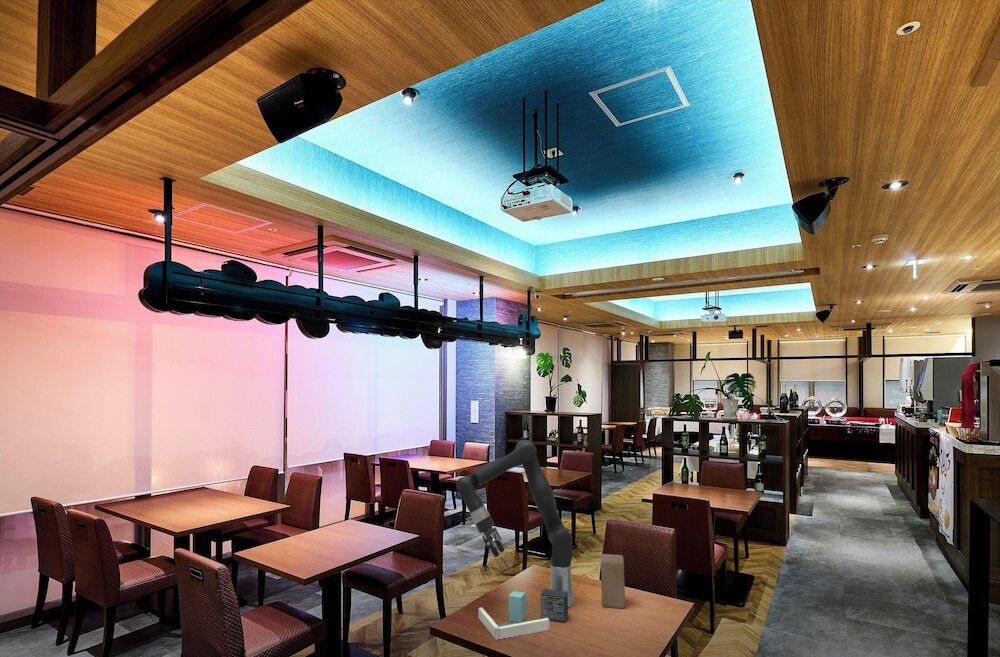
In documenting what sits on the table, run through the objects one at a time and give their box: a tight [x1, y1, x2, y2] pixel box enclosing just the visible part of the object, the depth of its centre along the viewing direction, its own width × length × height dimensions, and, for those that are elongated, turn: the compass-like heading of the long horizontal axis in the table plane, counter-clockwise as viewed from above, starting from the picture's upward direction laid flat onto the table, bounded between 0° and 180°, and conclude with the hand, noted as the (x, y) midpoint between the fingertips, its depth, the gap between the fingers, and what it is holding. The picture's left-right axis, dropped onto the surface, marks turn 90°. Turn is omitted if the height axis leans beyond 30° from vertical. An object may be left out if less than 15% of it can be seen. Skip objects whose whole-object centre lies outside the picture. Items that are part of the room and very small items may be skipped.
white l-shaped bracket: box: [478, 607, 550, 641], centre depth 218 cm, size 23×21×4 cm
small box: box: [540, 588, 569, 624], centre depth 224 cm, size 11×6×10 cm, turn 71°
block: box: [600, 553, 626, 609], centre depth 238 cm, size 10×10×20 cm
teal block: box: [508, 590, 527, 623], centre depth 223 cm, size 6×6×10 cm
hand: (500, 553), depth 228 cm, fingers open, 8 cm apart
